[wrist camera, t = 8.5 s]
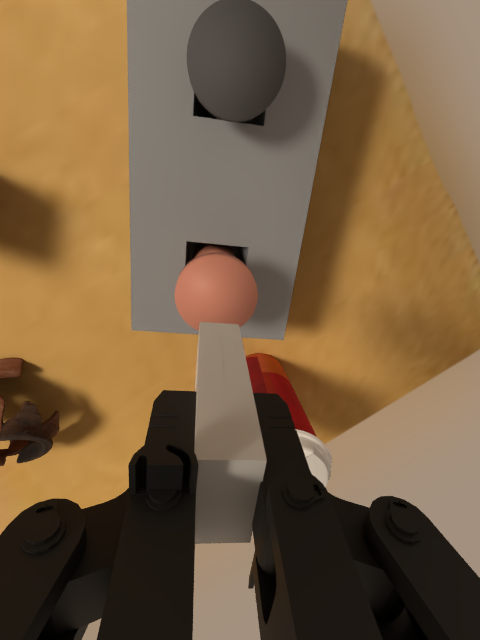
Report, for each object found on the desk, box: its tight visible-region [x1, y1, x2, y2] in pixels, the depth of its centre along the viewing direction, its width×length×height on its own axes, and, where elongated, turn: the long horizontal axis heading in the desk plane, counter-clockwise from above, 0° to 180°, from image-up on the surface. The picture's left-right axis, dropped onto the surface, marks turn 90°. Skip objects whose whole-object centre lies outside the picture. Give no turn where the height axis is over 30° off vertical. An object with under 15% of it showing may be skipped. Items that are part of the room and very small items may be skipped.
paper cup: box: [246, 353, 332, 488], centre depth 31 cm, size 8×8×14 cm
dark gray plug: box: [187, 0, 286, 122], centre depth 21 cm, size 5×5×9 cm
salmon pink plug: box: [175, 243, 258, 331], centre depth 24 cm, size 5×5×9 cm
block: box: [127, 0, 347, 340], centre depth 25 cm, size 22×12×7 cm, turn 173°
